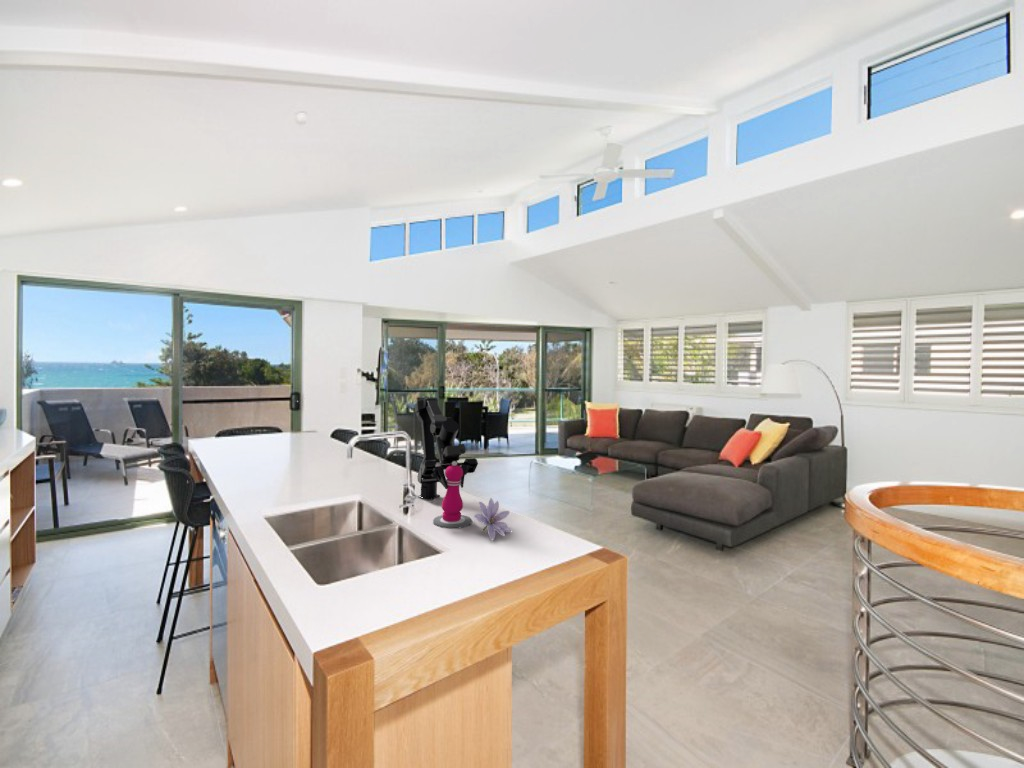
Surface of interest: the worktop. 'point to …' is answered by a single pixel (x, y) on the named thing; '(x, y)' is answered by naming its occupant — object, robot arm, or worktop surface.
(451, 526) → the mat
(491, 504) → the water lily
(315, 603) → the worktop surface
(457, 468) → the pepper mill
